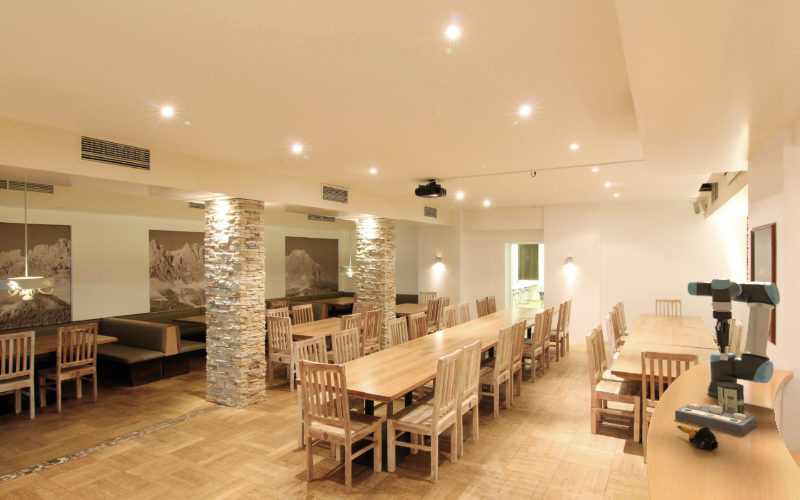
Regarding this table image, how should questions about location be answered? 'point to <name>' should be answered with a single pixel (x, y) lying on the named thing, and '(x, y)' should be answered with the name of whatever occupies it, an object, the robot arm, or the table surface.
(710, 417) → the button board
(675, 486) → the table surface
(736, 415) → the end button
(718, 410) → the middle button
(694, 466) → the table surface
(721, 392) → the coffee can
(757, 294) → the robot arm
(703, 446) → the black bulb with handle
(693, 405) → the end button
